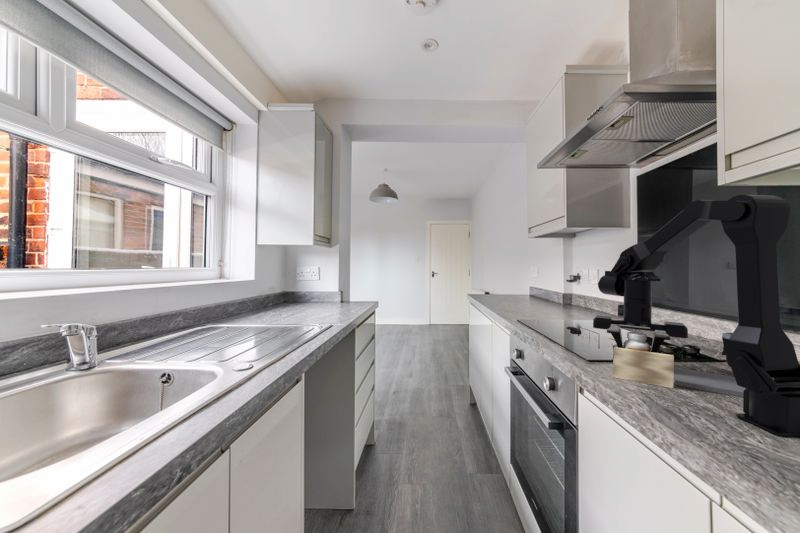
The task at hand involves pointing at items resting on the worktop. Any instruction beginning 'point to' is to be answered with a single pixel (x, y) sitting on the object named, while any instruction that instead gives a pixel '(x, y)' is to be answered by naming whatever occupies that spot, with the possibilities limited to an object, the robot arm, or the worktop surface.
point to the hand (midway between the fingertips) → (636, 359)
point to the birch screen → (643, 366)
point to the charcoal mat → (707, 382)
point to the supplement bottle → (637, 341)
